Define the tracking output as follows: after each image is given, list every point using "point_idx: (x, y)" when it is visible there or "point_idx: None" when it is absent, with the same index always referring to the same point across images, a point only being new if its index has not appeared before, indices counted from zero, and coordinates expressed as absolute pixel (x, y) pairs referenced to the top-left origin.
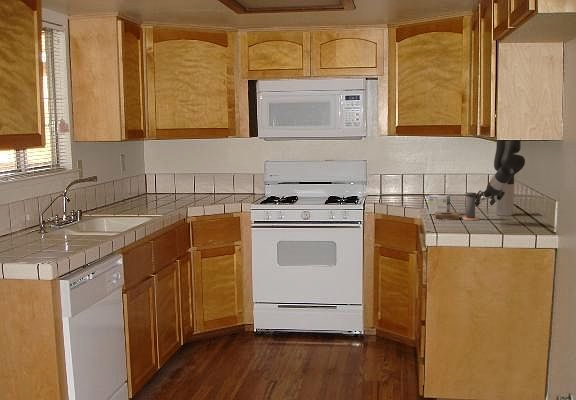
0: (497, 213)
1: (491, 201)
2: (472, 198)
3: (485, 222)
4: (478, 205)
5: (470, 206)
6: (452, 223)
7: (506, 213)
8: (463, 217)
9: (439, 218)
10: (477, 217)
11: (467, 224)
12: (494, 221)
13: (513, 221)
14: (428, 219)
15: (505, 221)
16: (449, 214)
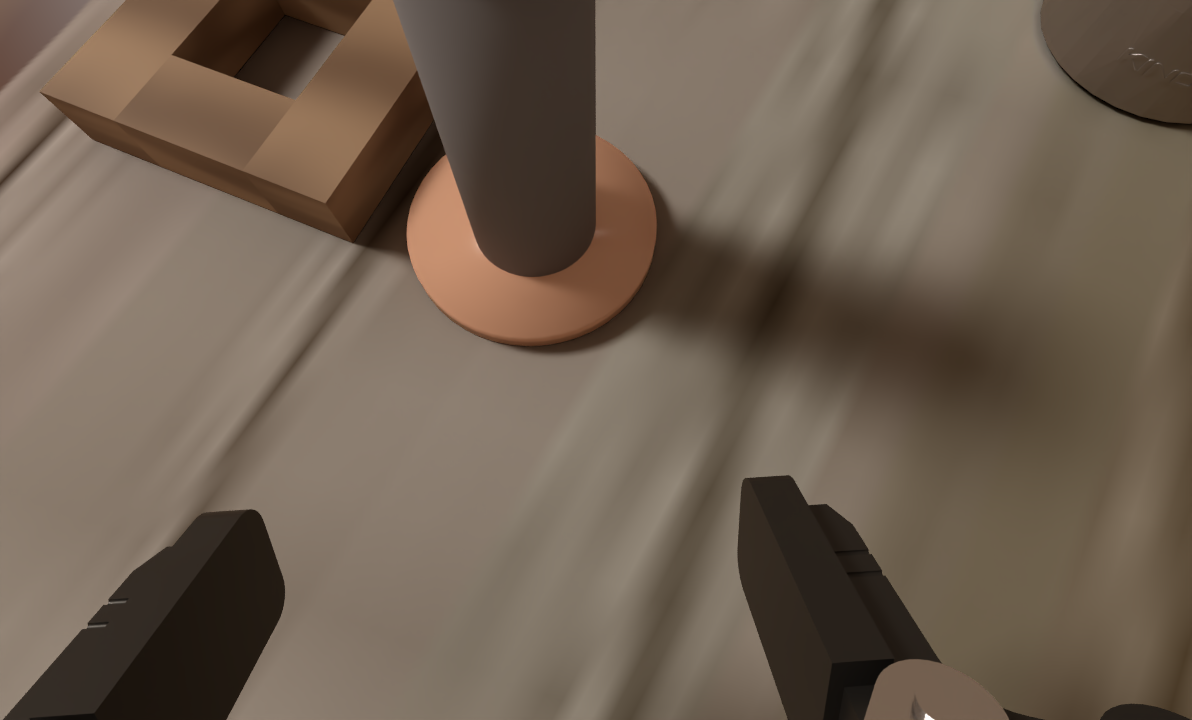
0: (1061, 27)
1: (772, 577)
2: (461, 8)
3: (578, 578)
4: (264, 644)
5: (461, 144)
6: (33, 507)
7: (1175, 95)
8: None
9: (118, 142)
10: (647, 218)
11: None
12: None
13: (1085, 626)
14: (40, 89)
15: (949, 580)
16: (256, 93)
